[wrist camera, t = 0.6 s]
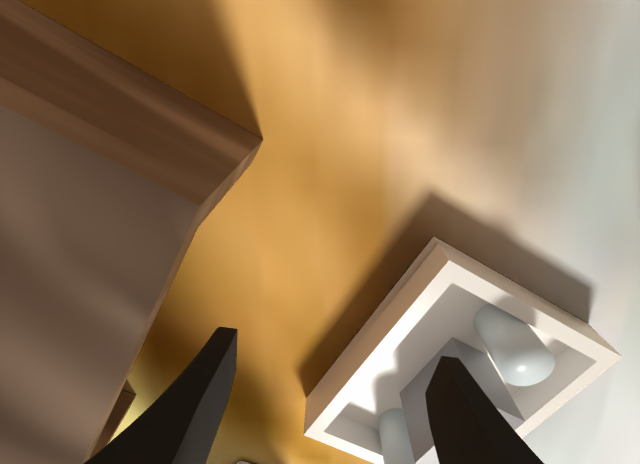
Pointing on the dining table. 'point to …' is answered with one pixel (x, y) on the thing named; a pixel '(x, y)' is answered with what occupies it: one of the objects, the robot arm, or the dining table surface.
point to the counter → (90, 227)
